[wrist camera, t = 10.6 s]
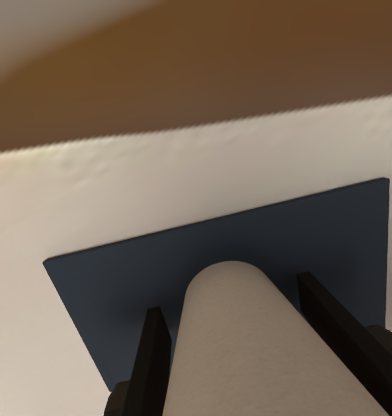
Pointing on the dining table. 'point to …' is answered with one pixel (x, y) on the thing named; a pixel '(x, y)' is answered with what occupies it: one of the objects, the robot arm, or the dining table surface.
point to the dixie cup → (255, 354)
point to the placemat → (220, 252)
